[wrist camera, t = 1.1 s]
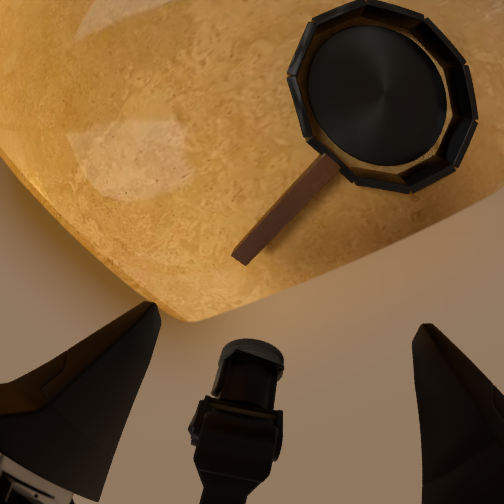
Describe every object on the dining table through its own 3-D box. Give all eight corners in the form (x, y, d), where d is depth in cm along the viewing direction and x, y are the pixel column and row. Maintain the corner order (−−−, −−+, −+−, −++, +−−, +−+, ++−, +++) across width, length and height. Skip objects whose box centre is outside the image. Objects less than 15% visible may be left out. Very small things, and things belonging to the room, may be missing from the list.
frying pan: (360, -15, 11) (370, -33, 8) (479, 111, 14) (504, 116, 11) (181, 190, 22) (163, 206, 19) (305, 283, 25) (305, 309, 22)
